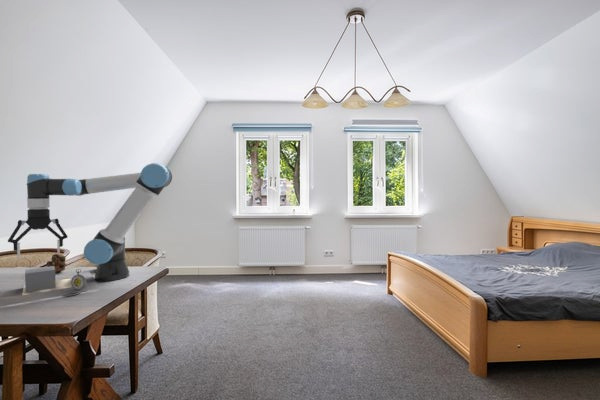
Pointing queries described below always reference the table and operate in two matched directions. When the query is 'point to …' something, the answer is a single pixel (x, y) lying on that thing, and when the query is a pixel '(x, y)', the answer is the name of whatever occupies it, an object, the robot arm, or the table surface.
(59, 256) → the wooden carving
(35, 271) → the block
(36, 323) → the table surface
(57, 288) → the board
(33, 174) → the robot arm
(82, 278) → the pocket watch
